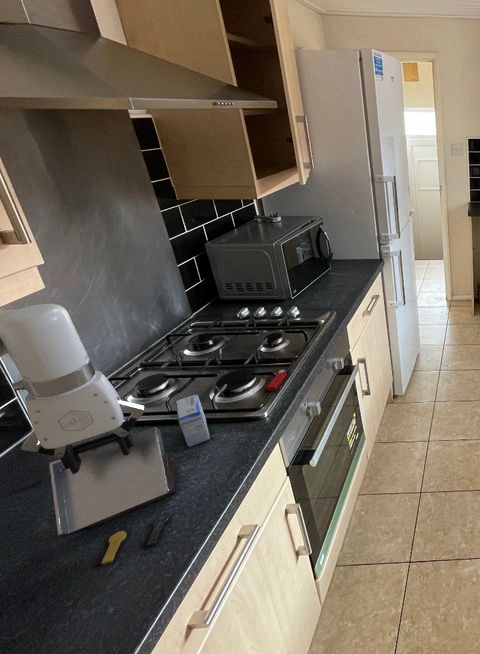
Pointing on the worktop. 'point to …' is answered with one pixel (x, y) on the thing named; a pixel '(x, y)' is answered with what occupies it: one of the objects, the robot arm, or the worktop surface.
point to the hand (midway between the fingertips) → (102, 458)
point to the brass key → (113, 546)
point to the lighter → (277, 380)
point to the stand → (172, 480)
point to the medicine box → (192, 420)
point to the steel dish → (108, 479)
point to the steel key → (157, 529)
